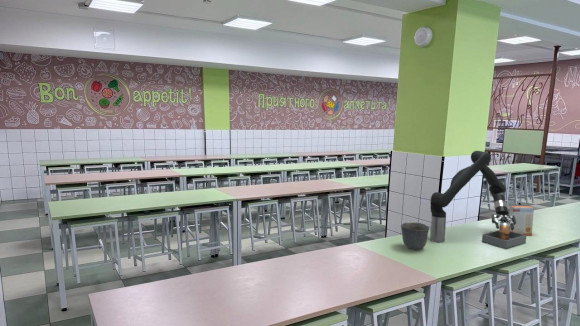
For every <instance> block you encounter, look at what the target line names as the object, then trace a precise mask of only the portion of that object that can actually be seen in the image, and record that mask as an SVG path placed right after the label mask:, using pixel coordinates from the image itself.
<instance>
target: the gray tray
mask: <svg viewBox="0 0 580 326" xmlns="http://www.w3.org/2000/svg"><path fill="white" fill-rule="evenodd" d="M481 243H483V244H486V245H490V246H493V247H495V248H496V247H498V248H500V249H503V250H509V249H511V248H512V249H513V248H515V247H518V246H521V245H524V244H526V243H527V236H526V235H523V234H520V233H516V232H512V231H510V235H509V240H502V239H499V229H497V230H494V231H489V232H485V233H482V236H481Z"/></svg>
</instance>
